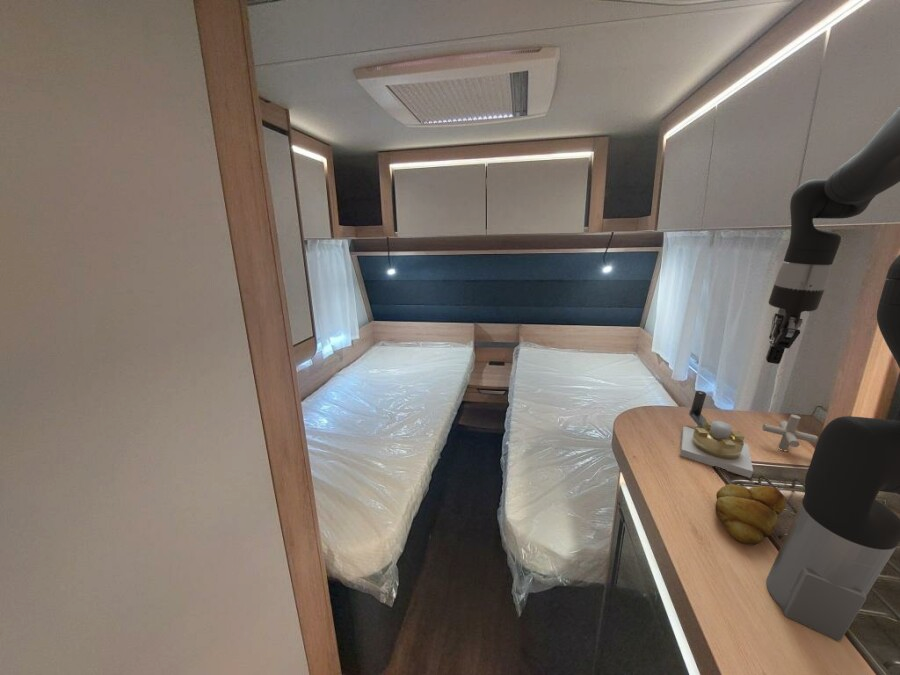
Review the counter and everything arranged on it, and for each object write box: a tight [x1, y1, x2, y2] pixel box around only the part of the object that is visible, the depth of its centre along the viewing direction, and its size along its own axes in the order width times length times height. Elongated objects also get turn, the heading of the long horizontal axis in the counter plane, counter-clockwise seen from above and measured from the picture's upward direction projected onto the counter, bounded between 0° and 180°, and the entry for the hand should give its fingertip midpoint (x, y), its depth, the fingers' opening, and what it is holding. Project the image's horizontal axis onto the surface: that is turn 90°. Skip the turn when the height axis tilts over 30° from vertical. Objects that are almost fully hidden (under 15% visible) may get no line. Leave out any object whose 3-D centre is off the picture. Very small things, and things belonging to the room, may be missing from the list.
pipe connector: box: [762, 414, 819, 451], centre depth 88 cm, size 10×10×10 cm
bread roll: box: [714, 483, 787, 545], centre depth 67 cm, size 13×10×8 cm
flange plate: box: [679, 420, 754, 479], centre depth 87 cm, size 12×14×8 cm
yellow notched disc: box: [688, 390, 745, 459], centre depth 90 cm, size 18×10×9 cm, turn 169°
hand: (772, 361), depth 76 cm, fingers closed
